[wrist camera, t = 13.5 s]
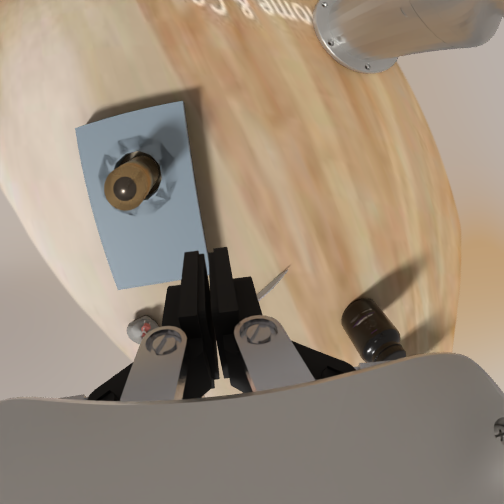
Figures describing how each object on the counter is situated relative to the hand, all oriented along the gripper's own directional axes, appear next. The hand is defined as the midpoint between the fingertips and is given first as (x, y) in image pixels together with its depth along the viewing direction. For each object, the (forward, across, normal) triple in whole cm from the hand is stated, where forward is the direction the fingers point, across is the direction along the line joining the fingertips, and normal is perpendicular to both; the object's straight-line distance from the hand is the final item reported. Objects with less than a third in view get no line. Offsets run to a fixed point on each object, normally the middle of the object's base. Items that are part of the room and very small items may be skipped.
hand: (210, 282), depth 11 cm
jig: (+23, +7, +2) cm, 24 cm away
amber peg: (+23, +7, -1) cm, 24 cm away
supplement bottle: (+23, -22, +25) cm, 40 cm away
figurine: (+22, +12, +20) cm, 32 cm away
